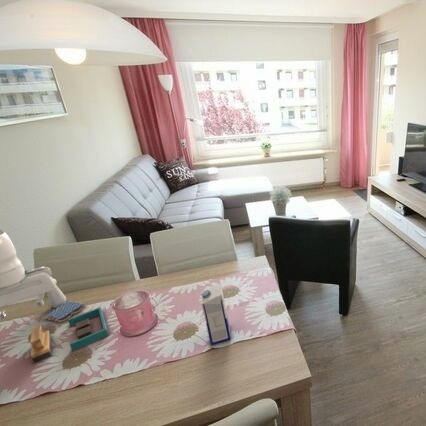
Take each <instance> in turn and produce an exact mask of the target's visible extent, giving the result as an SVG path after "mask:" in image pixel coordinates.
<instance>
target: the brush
mask: <svg viewBox="0 0 426 426" xmlns="http://www.w3.org/2000/svg"><path fill="white" fill-rule="evenodd" d="M30 344H31V353H30V357H31V359H32V360H33V362H34V363H38V362H40V361H42V360H44V359H48V358H49V357H52V335H51V333H50V331H49V330H45V331H44V330H43V327H42V325H37V326H35V327H33V328H31V333H30Z"/></svg>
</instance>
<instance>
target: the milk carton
mask: <svg viewBox="0 0 426 426" xmlns="http://www.w3.org/2000/svg"><path fill="white" fill-rule="evenodd" d="M201 307H202V311H203V315H204V320H205V323H206V328H207V333H208V338H209V341H210V345H211V346H213V345H217V344H220V343H225V342H227V341H228V342H229V341H231V340H232V338H231V328H230V322H229V318H228V317H229V316H228V313H227V308H226V303H225V297H224V293H223V286H222V283H218V284H216V285H214V286H211V287H210V288H208V289H205V290H203V291H202V292H201Z"/></svg>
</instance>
